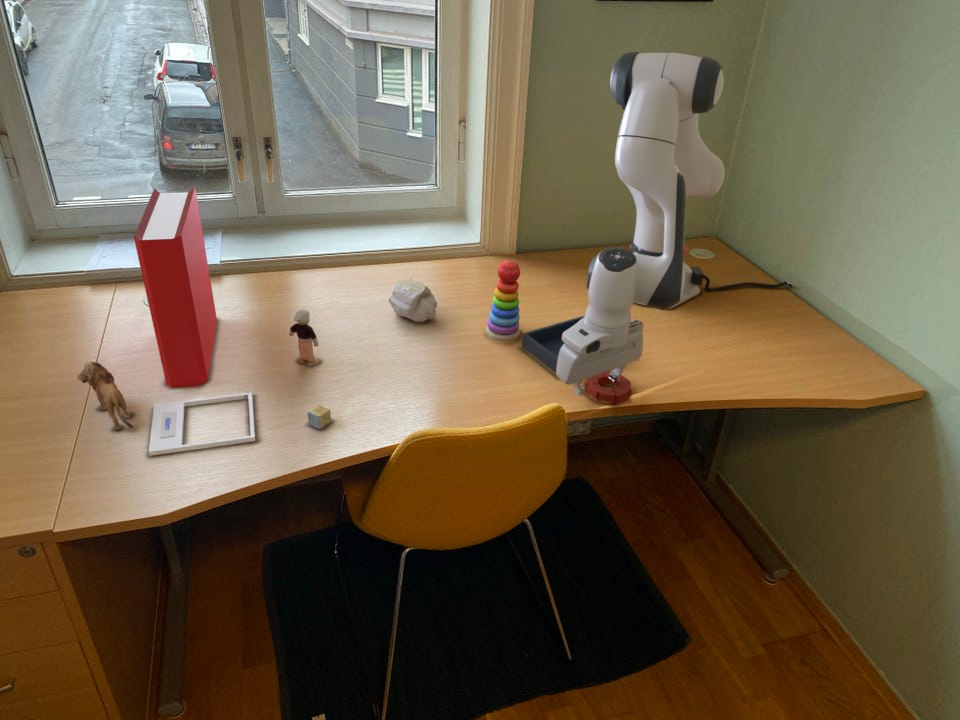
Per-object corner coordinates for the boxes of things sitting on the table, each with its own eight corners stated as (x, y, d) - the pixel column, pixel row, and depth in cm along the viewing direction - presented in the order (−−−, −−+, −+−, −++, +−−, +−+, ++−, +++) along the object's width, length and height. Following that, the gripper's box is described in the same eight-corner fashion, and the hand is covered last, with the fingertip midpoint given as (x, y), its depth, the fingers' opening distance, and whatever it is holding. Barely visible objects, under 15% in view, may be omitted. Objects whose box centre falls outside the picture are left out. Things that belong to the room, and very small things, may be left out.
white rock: (430, 330, 171) (441, 314, 180) (434, 298, 167) (445, 283, 176) (381, 319, 173) (394, 303, 181) (384, 287, 169) (397, 272, 177)
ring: (608, 375, 158) (610, 366, 157) (638, 397, 152) (639, 387, 151) (576, 387, 154) (577, 377, 153) (604, 409, 148) (606, 400, 146)
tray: (580, 331, 174) (582, 315, 172) (618, 357, 165) (621, 341, 163) (521, 349, 166) (522, 333, 164) (557, 378, 156) (559, 362, 154)
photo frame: (154, 403, 140) (251, 391, 144) (155, 408, 140) (252, 396, 145) (148, 450, 128) (254, 436, 133) (149, 455, 129) (255, 441, 133)
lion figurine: (82, 403, 141) (70, 364, 136) (109, 392, 144) (98, 353, 139) (120, 436, 133) (109, 396, 128) (148, 423, 136) (138, 383, 132)
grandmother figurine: (326, 360, 158) (323, 308, 151) (317, 369, 155) (313, 317, 148) (295, 352, 160) (290, 301, 153) (286, 361, 157) (280, 309, 150)
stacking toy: (516, 346, 167) (523, 272, 157) (482, 341, 168) (487, 267, 158) (522, 329, 173) (528, 257, 163) (489, 324, 175) (494, 252, 165)
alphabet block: (308, 424, 139) (307, 411, 137) (319, 416, 141) (318, 403, 139) (320, 430, 137) (319, 417, 136) (331, 422, 140) (330, 409, 138)
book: (180, 322, 168) (154, 188, 151) (217, 319, 170) (194, 187, 153) (165, 388, 146) (132, 240, 129) (207, 385, 148) (180, 238, 131)
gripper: (633, 311, 150) (623, 366, 157) (555, 335, 140) (548, 393, 148) (655, 324, 145) (643, 381, 153) (576, 350, 136) (567, 409, 143)
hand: (596, 387), depth 150 cm, fingers open, 8 cm apart
